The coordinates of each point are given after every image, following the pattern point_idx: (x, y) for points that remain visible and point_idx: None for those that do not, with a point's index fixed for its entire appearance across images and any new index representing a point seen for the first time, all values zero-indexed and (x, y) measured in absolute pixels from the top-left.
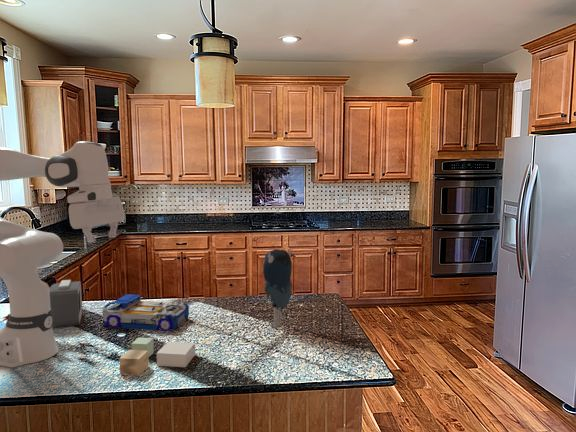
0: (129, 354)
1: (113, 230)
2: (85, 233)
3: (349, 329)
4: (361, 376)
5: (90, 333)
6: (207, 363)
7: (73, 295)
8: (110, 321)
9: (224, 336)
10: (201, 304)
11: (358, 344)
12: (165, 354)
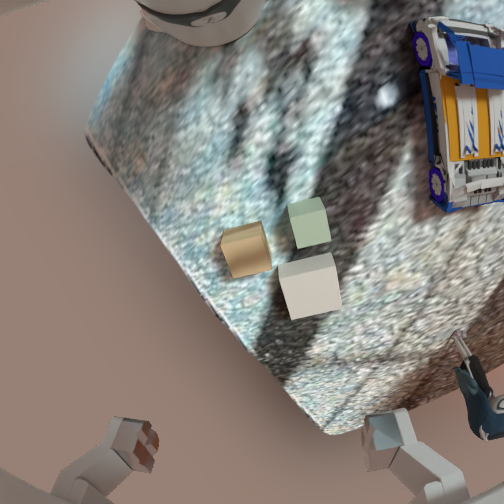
0: (241, 251)
1: (397, 470)
2: (80, 469)
3: (442, 391)
4: (327, 426)
5: (364, 20)
6: (313, 322)
7: None
8: (420, 41)
9: (419, 293)
10: None
11: None
12: (283, 291)
